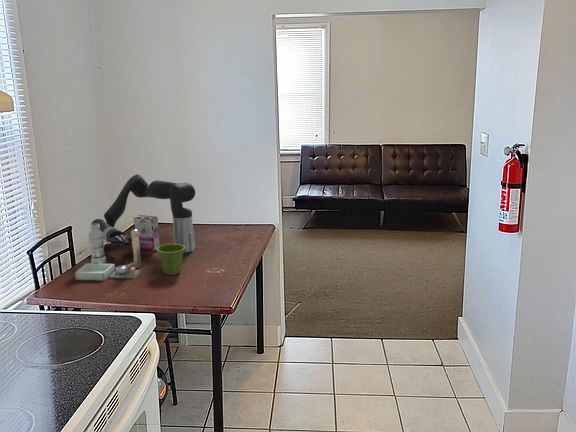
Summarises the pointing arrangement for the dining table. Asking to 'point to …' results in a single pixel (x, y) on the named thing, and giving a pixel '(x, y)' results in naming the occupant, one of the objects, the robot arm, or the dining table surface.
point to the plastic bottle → (97, 245)
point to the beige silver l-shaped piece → (136, 254)
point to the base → (125, 274)
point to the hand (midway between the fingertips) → (127, 244)
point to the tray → (94, 271)
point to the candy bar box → (147, 231)
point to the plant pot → (171, 258)
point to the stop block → (132, 270)
